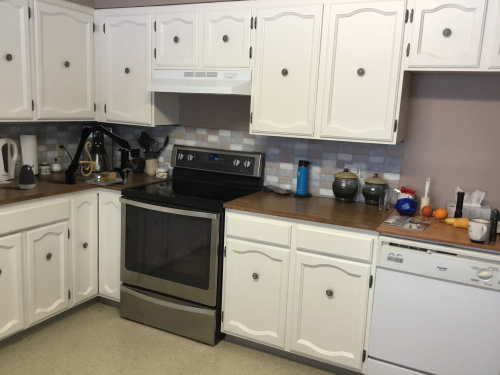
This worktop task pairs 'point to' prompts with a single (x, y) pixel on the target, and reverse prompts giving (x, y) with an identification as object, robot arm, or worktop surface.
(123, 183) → the lever with copper knob
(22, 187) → the pump dispenser
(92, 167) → the wall sconce
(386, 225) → the worktop surface
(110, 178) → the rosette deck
